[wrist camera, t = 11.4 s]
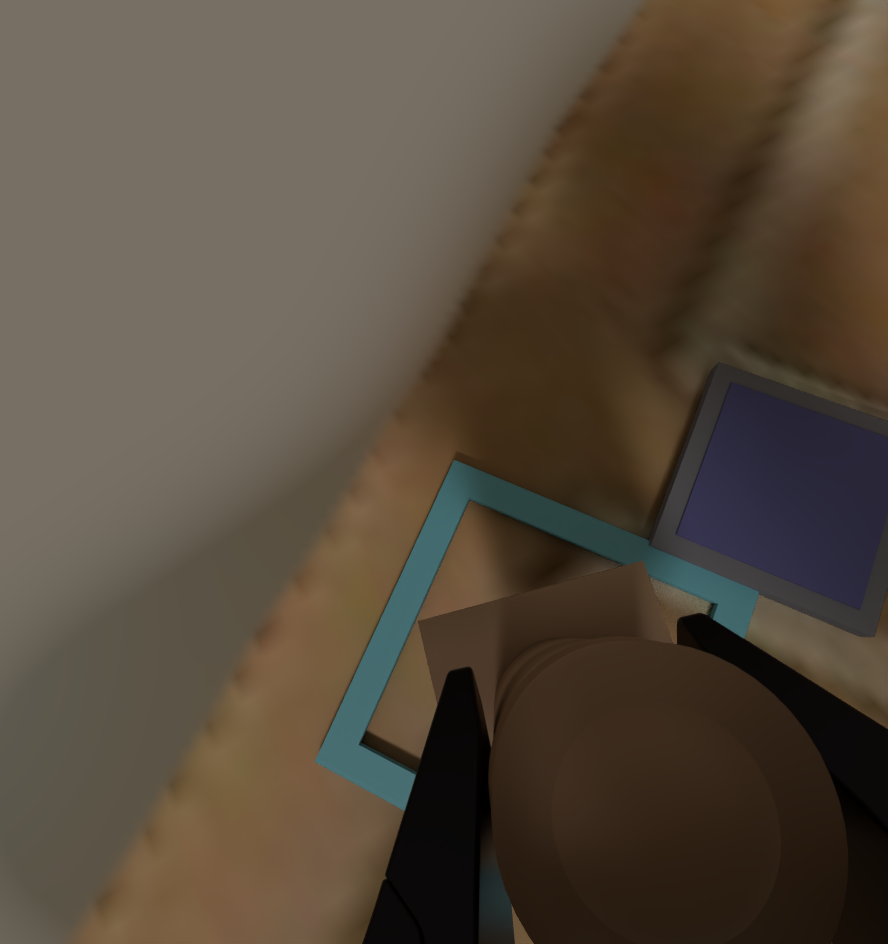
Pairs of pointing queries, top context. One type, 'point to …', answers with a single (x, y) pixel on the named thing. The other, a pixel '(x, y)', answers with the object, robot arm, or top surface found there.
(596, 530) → the frame
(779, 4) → the top surface
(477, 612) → the stamp
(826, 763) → the robot arm
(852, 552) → the ink pad
